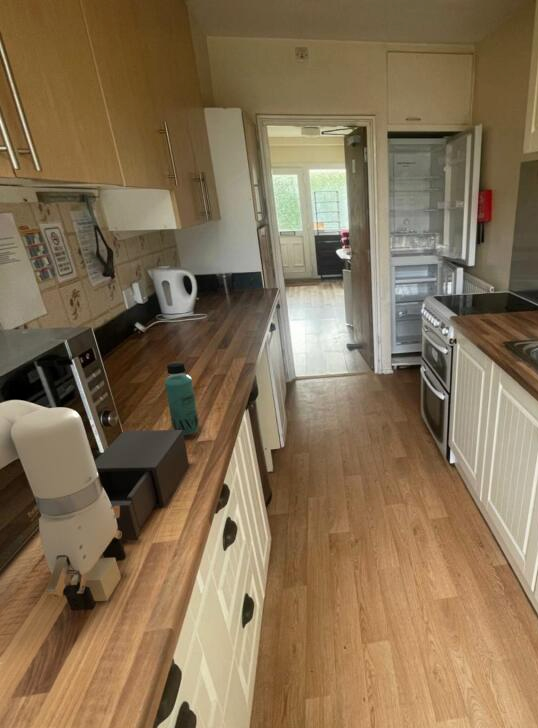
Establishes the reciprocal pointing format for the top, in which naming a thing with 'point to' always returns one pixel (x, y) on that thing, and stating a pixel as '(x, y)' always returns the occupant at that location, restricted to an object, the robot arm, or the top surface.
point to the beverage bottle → (181, 399)
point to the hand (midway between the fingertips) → (100, 582)
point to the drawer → (130, 498)
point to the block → (101, 578)
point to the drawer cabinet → (149, 458)
